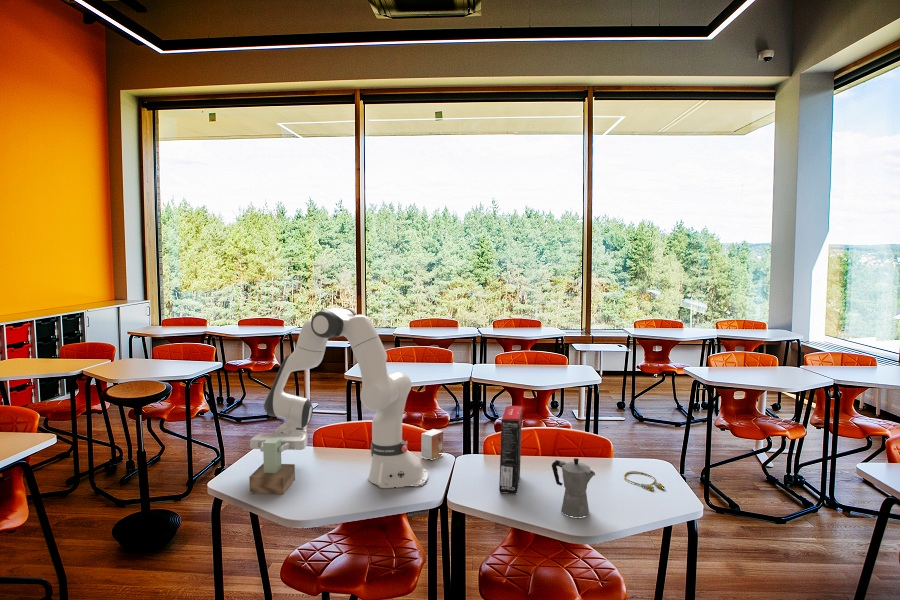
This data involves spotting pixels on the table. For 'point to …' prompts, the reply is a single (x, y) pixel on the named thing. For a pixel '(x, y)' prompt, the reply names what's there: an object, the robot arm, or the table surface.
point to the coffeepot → (574, 486)
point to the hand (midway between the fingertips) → (271, 449)
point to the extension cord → (646, 484)
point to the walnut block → (272, 480)
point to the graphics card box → (510, 449)
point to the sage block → (272, 455)
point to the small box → (432, 444)
